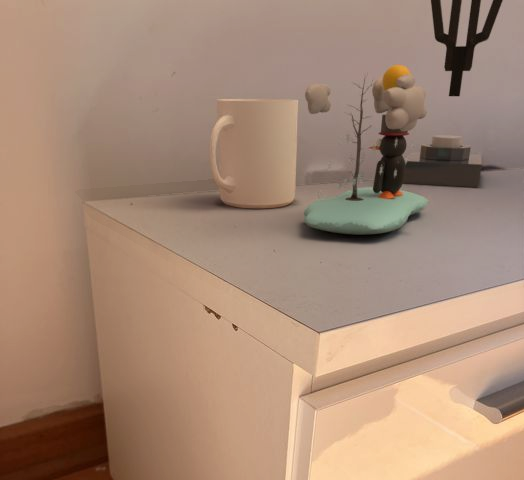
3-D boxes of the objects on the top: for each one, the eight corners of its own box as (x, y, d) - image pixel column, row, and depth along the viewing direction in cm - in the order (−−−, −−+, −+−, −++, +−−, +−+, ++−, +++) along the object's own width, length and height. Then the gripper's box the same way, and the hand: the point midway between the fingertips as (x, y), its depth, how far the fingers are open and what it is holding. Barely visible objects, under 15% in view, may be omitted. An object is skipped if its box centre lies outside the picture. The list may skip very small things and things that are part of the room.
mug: (307, 199, 73) (311, 100, 68) (261, 216, 63) (262, 102, 58) (244, 192, 77) (243, 98, 72) (192, 207, 68) (187, 100, 63)
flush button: (460, 147, 89) (462, 135, 88) (460, 150, 85) (461, 138, 85) (431, 146, 90) (433, 134, 90) (429, 149, 87) (431, 137, 86)
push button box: (478, 175, 94) (483, 143, 92) (478, 187, 83) (484, 151, 81) (410, 171, 97) (413, 140, 95) (401, 183, 86) (405, 148, 84)
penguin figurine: (355, 201, 72) (366, 67, 65) (440, 211, 67) (461, 67, 60) (278, 233, 56) (282, 61, 50) (381, 249, 51) (400, 60, 45)
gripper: (426, -104, 73) (406, 96, 83) (536, -114, 70) (502, 96, 80) (430, -89, 80) (411, 95, 90) (531, -97, 76) (500, 96, 86)
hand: (454, 96), depth 85 cm, fingers closed
